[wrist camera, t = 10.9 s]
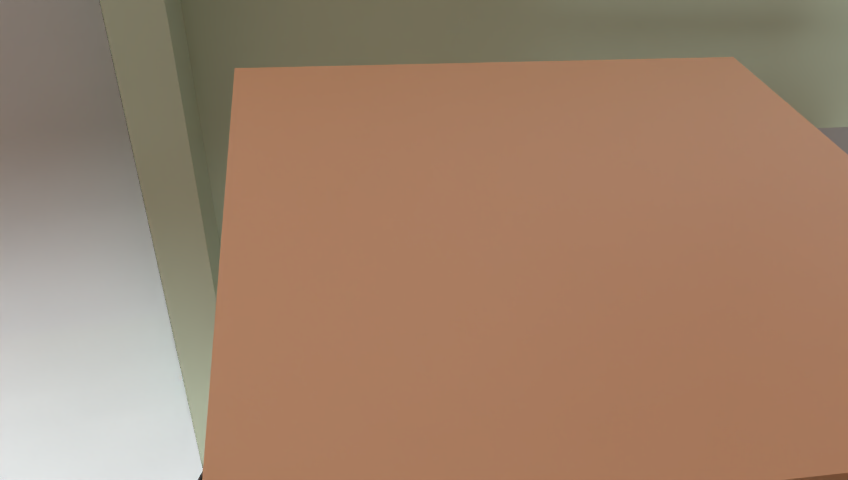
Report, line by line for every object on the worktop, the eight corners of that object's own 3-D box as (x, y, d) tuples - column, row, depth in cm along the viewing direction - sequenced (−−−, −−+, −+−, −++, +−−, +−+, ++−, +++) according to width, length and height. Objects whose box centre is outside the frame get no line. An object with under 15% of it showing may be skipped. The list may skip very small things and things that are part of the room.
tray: (1162, -245, 12) (1286, -231, 11) (876, 346, 20) (927, 403, 18) (78, -256, 10) (45, -241, 9) (211, 416, 18) (207, 489, 16)
